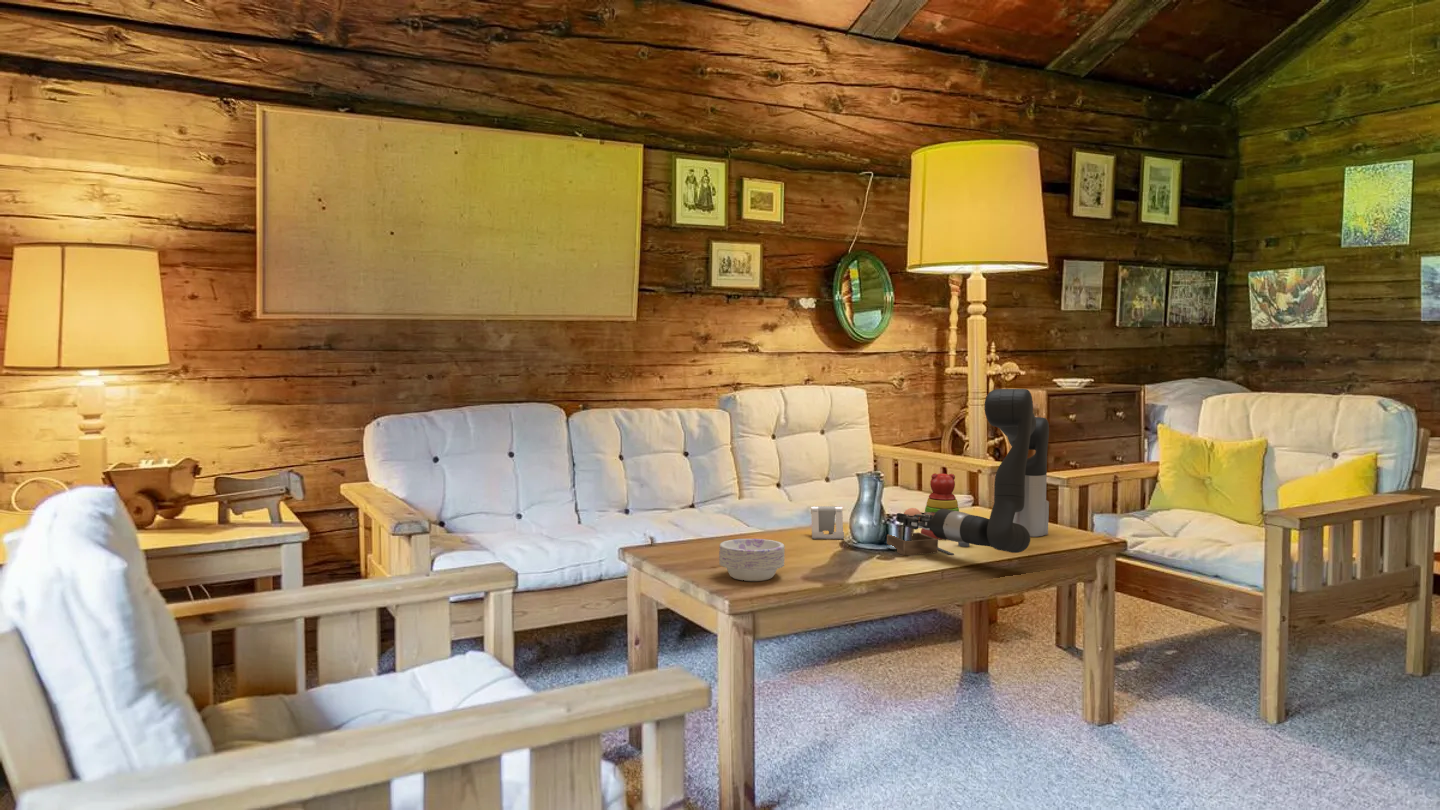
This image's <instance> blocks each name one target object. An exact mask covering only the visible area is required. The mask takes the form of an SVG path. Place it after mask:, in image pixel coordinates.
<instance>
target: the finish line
mask: <svg viewBox="0 0 1440 810" xmlns="http://www.w3.org/2000/svg"><path fill="white" fill-rule="evenodd" d="M938 552H941V553H943V554H946V555H949V556H953V555H955V553H953V552H950V551H948V550H946V549H943V548H941V547H938Z"/></svg>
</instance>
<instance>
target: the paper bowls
mask: <svg viewBox="0 0 1440 810" xmlns="http://www.w3.org/2000/svg"><path fill="white" fill-rule="evenodd" d="M785 550H786V548H785V544H784V543H783V542H780V541H778V540H772V539H764V538H737V539H736V538H735V539H730V540H724V541H722V542H720V543H719V554H718V555H719V557H718V558H719V562H718V563H719V565H720V567H723V568H726V569H727V573H728V574H729V576H730V577H731V578H733V579H735V580H737V581H738V580H739V581H743V580H744V581H743V582H763V581H767V580H770V579H772V578H773V577H774V576H775V575H776V573H777V570H778V569H780V568H783V567H784V566H785V552H786V551H785Z"/></svg>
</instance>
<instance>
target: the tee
mask: <svg viewBox="0 0 1440 810" xmlns="http://www.w3.org/2000/svg"><path fill="white" fill-rule="evenodd" d="M957 546H958V547H961V548H969V547H970V546H971V544H969V543H961V542H957Z"/></svg>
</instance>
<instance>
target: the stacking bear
mask: <svg viewBox="0 0 1440 810" xmlns="http://www.w3.org/2000/svg"><path fill="white" fill-rule="evenodd" d="M930 478H931V479H930V484H929V485H930V489H931V491H932V492H931V493H930V494H928V498H927V501H926V505H925V508H924V512H937V511H938V510H940V509H948V510H953V511H959V512H960V507H959V503H958V499H956V495H954V494H953V492H954V490H955V488H956V487H955V486H956V482H955V481H956V480H955V479H956V475H955V474H953V473H950V474H949V473H943V472H942V473H932V475H931V477H930ZM920 533H922V534H925V535H927V536H930V537H933V538H935V539H938V540H945V541H946V539H941V538H938V537H936V536H935V535H934V534H933V532H932V530H925V529H923V528H920Z"/></svg>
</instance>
